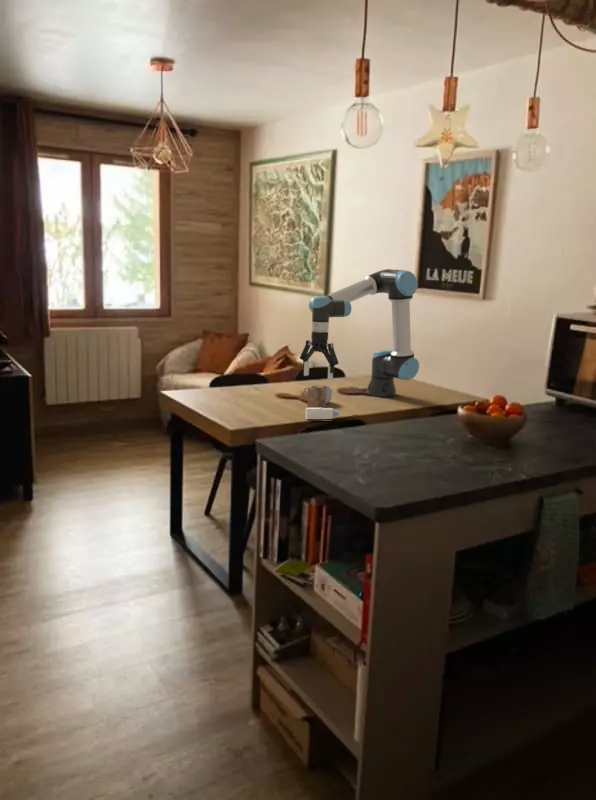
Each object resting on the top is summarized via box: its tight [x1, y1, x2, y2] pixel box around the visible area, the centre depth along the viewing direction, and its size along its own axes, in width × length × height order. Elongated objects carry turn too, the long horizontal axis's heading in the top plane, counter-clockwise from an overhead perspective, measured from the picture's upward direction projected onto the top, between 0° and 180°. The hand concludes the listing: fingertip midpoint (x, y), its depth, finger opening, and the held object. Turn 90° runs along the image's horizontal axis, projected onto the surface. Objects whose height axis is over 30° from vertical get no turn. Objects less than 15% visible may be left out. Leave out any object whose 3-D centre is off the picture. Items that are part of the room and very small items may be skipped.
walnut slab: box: [306, 384, 327, 408], centre depth 310 cm, size 9×4×11 cm, turn 141°
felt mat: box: [332, 408, 341, 417], centre depth 305 cm, size 14×16×1 cm
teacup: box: [303, 384, 334, 405], centre depth 326 cm, size 14×11×8 cm
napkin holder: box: [304, 407, 334, 420], centre depth 294 cm, size 15×11×6 cm
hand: (318, 377), depth 308 cm, fingers open, 13 cm apart
